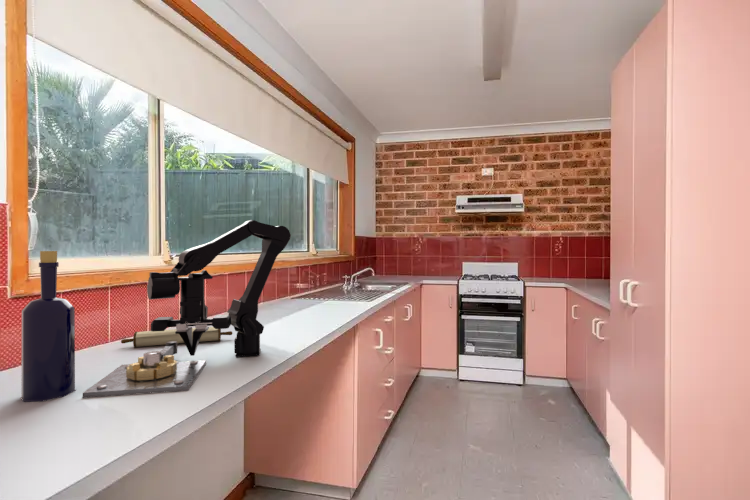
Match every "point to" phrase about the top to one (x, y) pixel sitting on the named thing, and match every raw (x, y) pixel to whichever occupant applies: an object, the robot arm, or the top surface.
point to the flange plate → (122, 385)
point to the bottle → (48, 340)
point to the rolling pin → (171, 337)
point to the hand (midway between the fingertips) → (192, 355)
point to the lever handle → (162, 368)
